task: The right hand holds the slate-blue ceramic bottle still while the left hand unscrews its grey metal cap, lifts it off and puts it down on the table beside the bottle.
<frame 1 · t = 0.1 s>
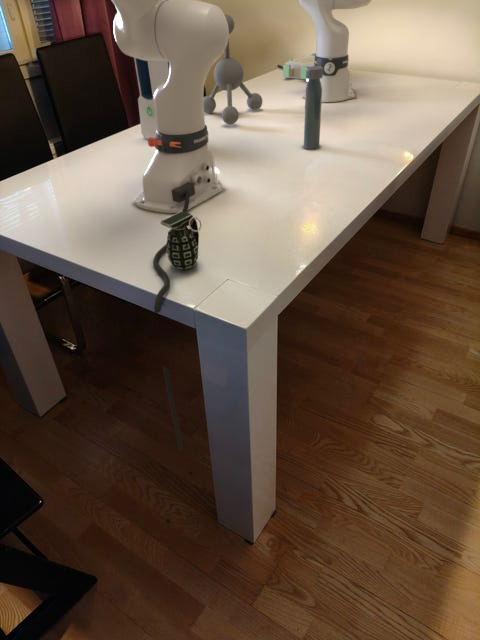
electronic device: (163, 138, 153), on the table
grenade: (185, 266, 91), on the table
bottle: (311, 147, 140), on the table
molecular model: (236, 115, 169), on the table
decorative block: (309, 75, 213), on the table
cap: (314, 69, 128), point 20 cm above the table, screwed on, not yet turned
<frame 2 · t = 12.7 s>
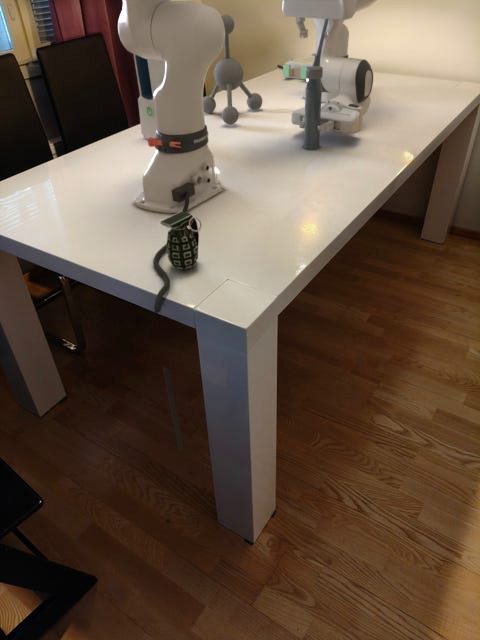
left hand: (315, 38, 123), 27 cm above the table, tool pointing down, fingers open, 7 cm apart
right hand: (310, 127, 136), 6 cm above the table, tool horizontal, fingers closed on bottle, 4 cm apart
bottle: (311, 147, 140), on the table, touching right hand
everything else where it was.
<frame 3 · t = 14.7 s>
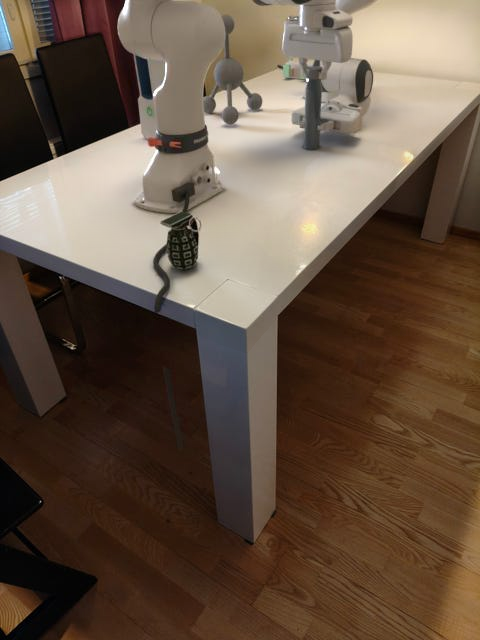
left hand: (314, 78, 129), 18 cm above the table, tool pointing down, fingers closed on cap, 4 cm apart
right hand: (310, 127, 136), 6 cm above the table, tool horizontal, fingers closed on bottle, 4 cm apart
bottle: (311, 147, 140), on the table, touching right hand
cap: (314, 69, 128), point 20 cm above the table, screwed on, not yet turned, touching left hand
everything else where it was.
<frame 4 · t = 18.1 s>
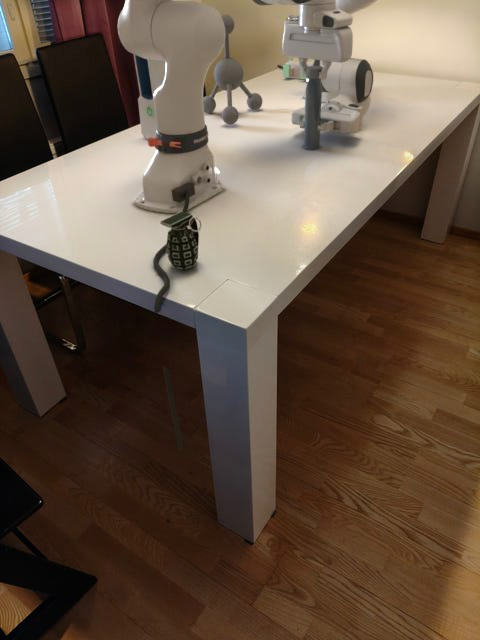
left hand: (314, 77, 129), 18 cm above the table, tool pointing down, fingers closed on cap, 4 cm apart
right hand: (310, 127, 136), 6 cm above the table, tool horizontal, fingers closed on bottle, 4 cm apart
bottle: (311, 147, 140), on the table, touching right hand
cap: (314, 68, 127), point 20 cm above the table, turned 93° so far, risen 0.1 cm, still on its thread, touching left hand
everything else where it was.
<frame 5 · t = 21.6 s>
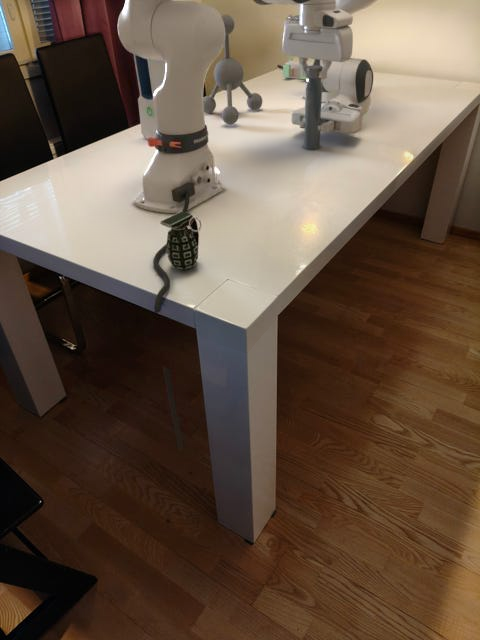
left hand: (314, 77, 129), 18 cm above the table, tool pointing down, fingers closed on cap, 4 cm apart
right hand: (310, 127, 136), 6 cm above the table, tool horizontal, fingers closed on bottle, 4 cm apart
bottle: (311, 147, 140), on the table, touching right hand
cap: (314, 68, 127), point 21 cm above the table, turned 186° so far, risen 0.2 cm, still on its thread, touching left hand
everything else where it was.
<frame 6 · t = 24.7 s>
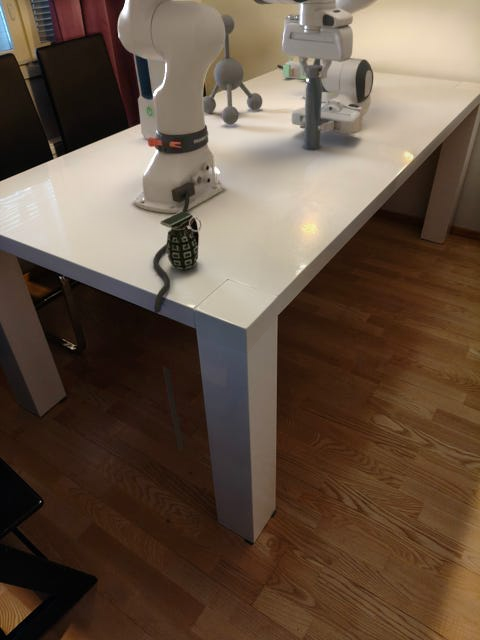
left hand: (314, 77, 129), 18 cm above the table, tool pointing down, fingers closed on cap, 4 cm apart
right hand: (310, 127, 136), 6 cm above the table, tool horizontal, fingers closed on bottle, 4 cm apart
bottle: (311, 147, 140), on the table, touching right hand
cap: (314, 67, 127), point 21 cm above the table, turned 279° so far, risen 0.3 cm, still on its thread, touching left hand
everything else where it was.
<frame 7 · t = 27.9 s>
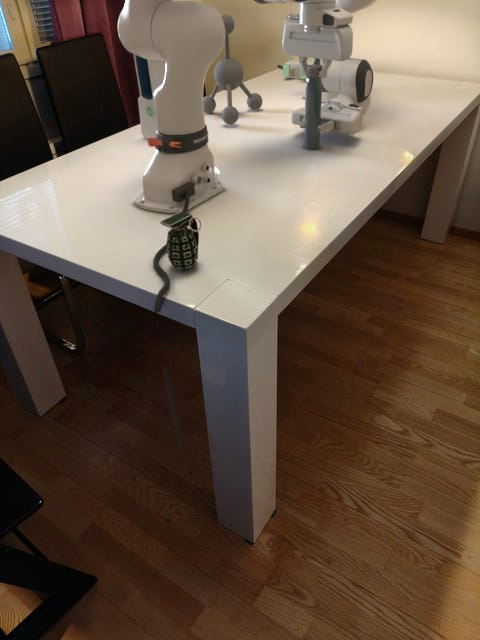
left hand: (314, 76, 129), 19 cm above the table, tool pointing down, fingers closed on cap, 4 cm apart
right hand: (310, 127, 136), 6 cm above the table, tool horizontal, fingers closed on bottle, 4 cm apart
bottle: (311, 147, 140), on the table, touching right hand
cap: (314, 67, 127), point 21 cm above the table, turned 372° so far, risen 0.4 cm, still on its thread, touching left hand
everything else where it was.
when the left hand's fingers open (2 cm above the table, at t = 38.7 s): cap drops 2 cm, point 2 cm above the table.
when the right hand's fingers open (6 cm above the table, at t = 39.9 s): bottle stays where it is, on the table.
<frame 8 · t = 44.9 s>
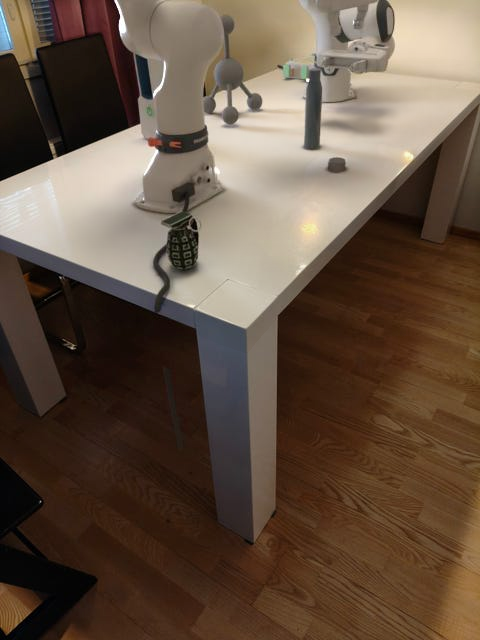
left hand: (347, 32, 107), 31 cm above the table, tool pointing down, fingers open, 8 cm apart
right hand: (337, 65, 135), 19 cm above the table, tool horizontal, fingers open, 8 cm apart
bottle: (311, 147, 140), on the table
cap: (337, 161, 125), point 2 cm above the table, off its thread
everything else where it was.
at the end: cap came off its thread; cap point 2.0 cm above the table; the left hand is holding nothing; the right hand is holding nothing; bottle tilted 0°; bottle moved 0.1 cm from its start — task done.
